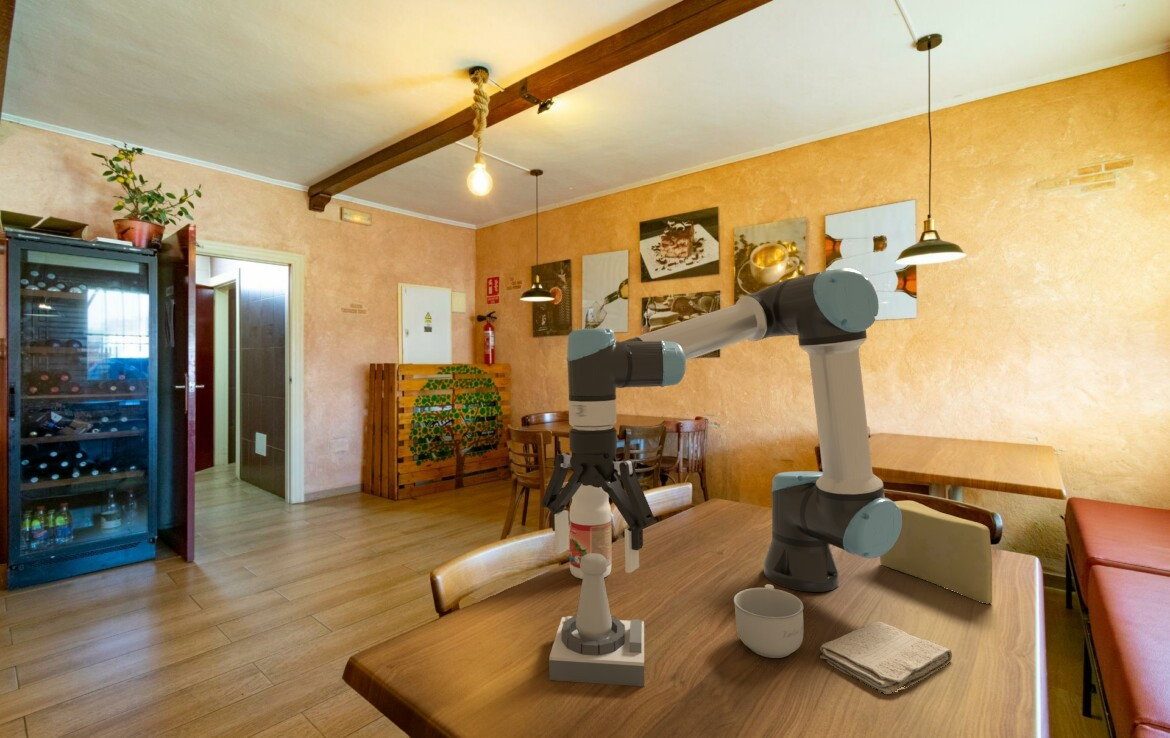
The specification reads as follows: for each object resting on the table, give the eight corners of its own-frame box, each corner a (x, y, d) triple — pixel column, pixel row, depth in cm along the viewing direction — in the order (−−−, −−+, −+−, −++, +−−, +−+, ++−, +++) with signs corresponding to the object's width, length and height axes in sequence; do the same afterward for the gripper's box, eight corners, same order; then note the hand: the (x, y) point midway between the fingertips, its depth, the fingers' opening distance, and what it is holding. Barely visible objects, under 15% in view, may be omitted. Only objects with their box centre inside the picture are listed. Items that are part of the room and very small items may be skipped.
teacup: (796, 675, 78) (796, 622, 78) (725, 653, 83) (725, 604, 83) (811, 633, 90) (811, 587, 89) (748, 617, 95) (748, 574, 95)
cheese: (1009, 602, 101) (1009, 526, 101) (970, 608, 99) (971, 530, 98) (911, 560, 123) (911, 497, 122) (877, 564, 120) (877, 500, 120)
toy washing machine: (644, 642, 87) (644, 612, 87) (644, 686, 75) (644, 652, 75) (562, 637, 89) (562, 608, 88) (549, 680, 77) (549, 646, 77)
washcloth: (815, 661, 82) (815, 642, 82) (877, 630, 91) (877, 613, 91) (892, 703, 72) (892, 681, 72) (953, 664, 81) (953, 644, 81)
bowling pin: (619, 637, 82) (619, 555, 82) (595, 652, 78) (595, 566, 78) (591, 624, 86) (591, 546, 86) (568, 638, 82) (567, 556, 82)
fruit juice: (612, 581, 111) (612, 451, 111) (568, 581, 111) (568, 451, 111) (610, 564, 121) (610, 444, 120) (570, 564, 121) (570, 444, 121)
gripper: (518, 424, 86) (521, 551, 86) (650, 435, 71) (653, 588, 71) (548, 420, 92) (550, 538, 92) (675, 428, 77) (677, 569, 77)
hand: (595, 560), depth 82 cm, fingers open, 13 cm apart
